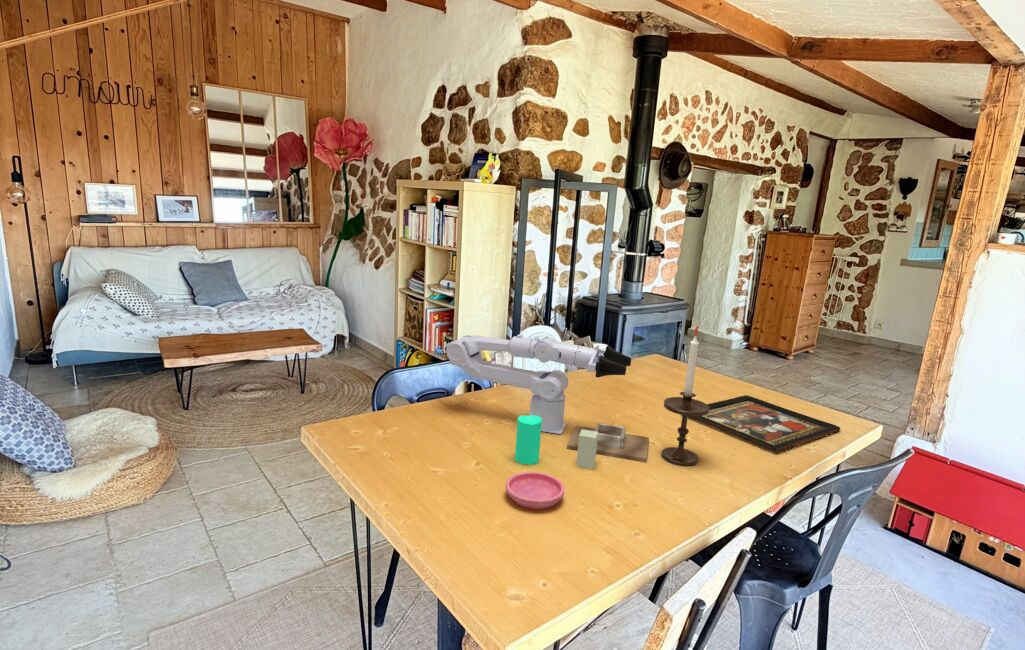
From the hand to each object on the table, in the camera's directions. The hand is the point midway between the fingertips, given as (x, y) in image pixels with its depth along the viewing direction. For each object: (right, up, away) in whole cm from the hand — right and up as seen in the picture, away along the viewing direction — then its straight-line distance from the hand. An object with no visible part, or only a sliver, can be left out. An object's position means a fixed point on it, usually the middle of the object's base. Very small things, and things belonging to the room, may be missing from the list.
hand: (628, 366), depth 146 cm
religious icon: (+45, -20, +24) cm, 54 cm away
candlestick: (+12, -23, -4) cm, 26 cm away
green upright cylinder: (-27, -22, -9) cm, 36 cm away
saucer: (-26, -26, -27) cm, 46 cm away
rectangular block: (-12, -23, -10) cm, 28 cm away
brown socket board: (-5, -21, +2) cm, 21 cm away
